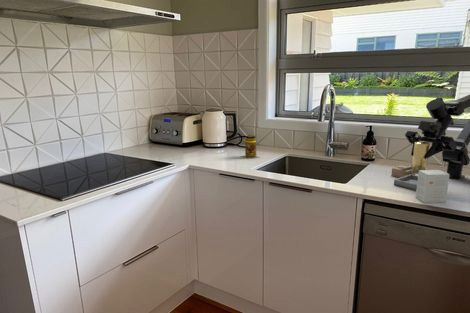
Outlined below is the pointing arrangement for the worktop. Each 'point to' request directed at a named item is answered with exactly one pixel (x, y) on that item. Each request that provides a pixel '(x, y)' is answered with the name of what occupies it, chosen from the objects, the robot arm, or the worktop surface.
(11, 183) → the worktop surface
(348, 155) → the worktop surface
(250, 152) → the condiment
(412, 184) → the tray
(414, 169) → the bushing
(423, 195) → the small box
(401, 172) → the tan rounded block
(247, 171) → the worktop surface
